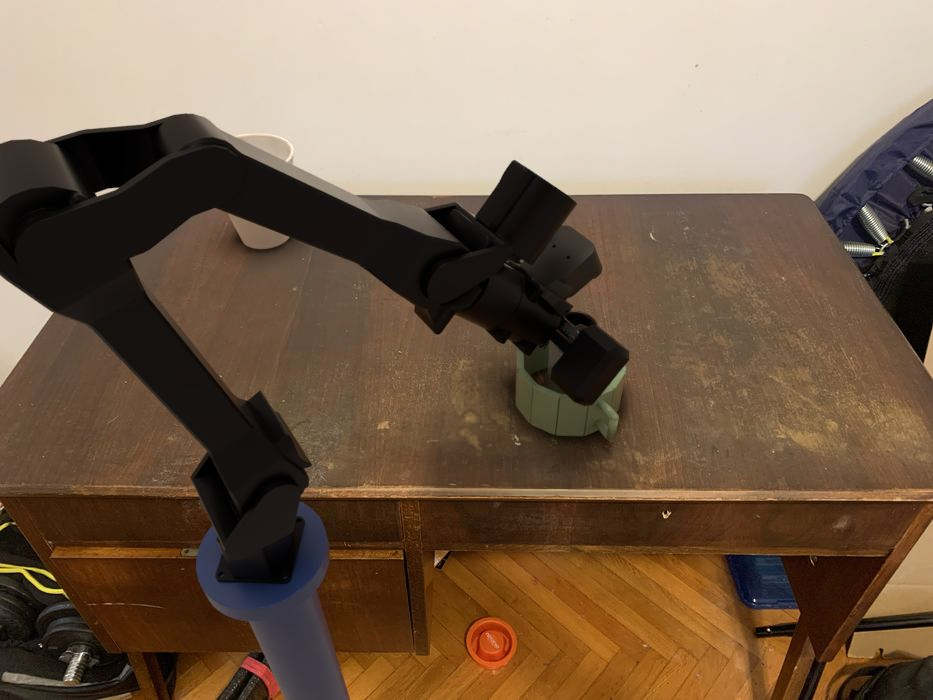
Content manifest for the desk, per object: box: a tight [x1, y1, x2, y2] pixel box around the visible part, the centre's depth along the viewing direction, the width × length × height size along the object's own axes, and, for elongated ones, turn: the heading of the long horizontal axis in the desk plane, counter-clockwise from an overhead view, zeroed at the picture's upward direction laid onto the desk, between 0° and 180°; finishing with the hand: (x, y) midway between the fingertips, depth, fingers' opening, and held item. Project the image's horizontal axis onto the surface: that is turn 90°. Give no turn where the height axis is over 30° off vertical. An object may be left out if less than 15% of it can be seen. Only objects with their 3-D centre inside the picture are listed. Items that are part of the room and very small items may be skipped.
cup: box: [227, 132, 295, 250], centre depth 97 cm, size 12×12×12 cm
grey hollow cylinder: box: [545, 310, 599, 394], centre depth 74 cm, size 4×4×10 cm
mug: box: [514, 340, 627, 442], centre depth 75 cm, size 14×11×6 cm
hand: (582, 343), depth 74 cm, fingers open, 6 cm apart
